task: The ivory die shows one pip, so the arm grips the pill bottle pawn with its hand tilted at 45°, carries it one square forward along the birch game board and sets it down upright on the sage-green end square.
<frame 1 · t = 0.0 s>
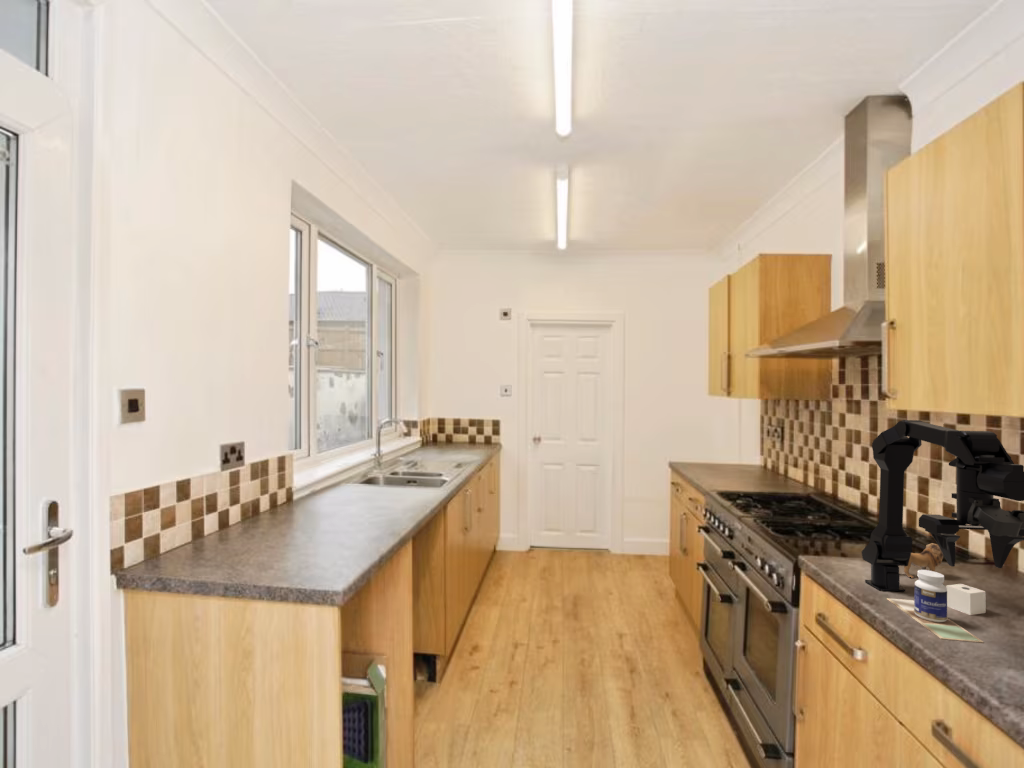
hand: (975, 566, 106), 15 cm above the countertop, tool pointing down, fingers open, 9 cm apart
lion figurine: (917, 576, 143), on the countertop
pill bottle: (930, 618, 115), resting on game board
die: (965, 609, 120), on the countertop
game board: (930, 618, 115), on the countertop
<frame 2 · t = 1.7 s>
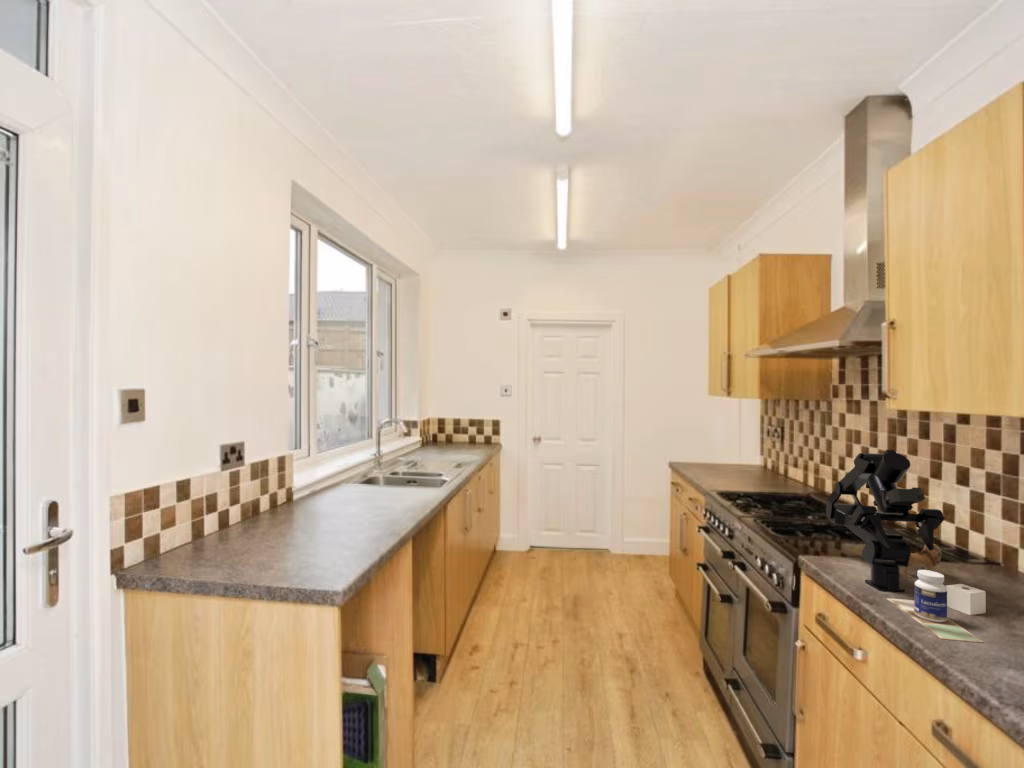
hand: (910, 548, 123), 13 cm above the countertop, tool tilted 45°, fingers open, 9 cm apart
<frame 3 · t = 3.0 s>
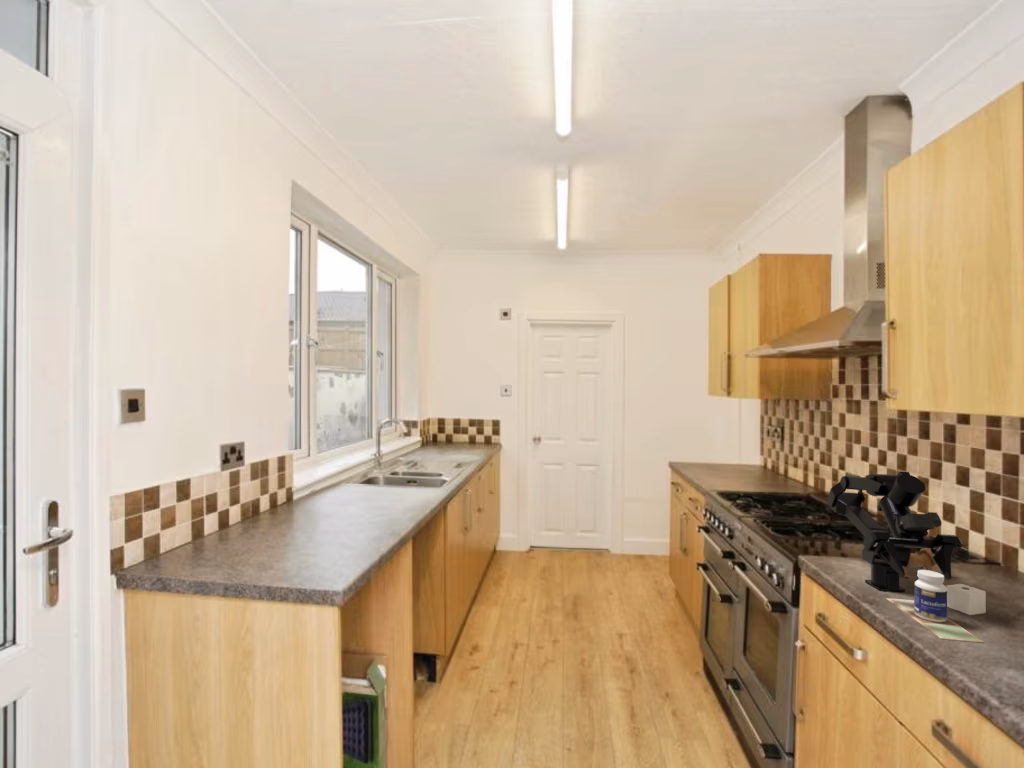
hand: (926, 577, 116), 9 cm above the countertop, tool tilted 45°, fingers open, 9 cm apart
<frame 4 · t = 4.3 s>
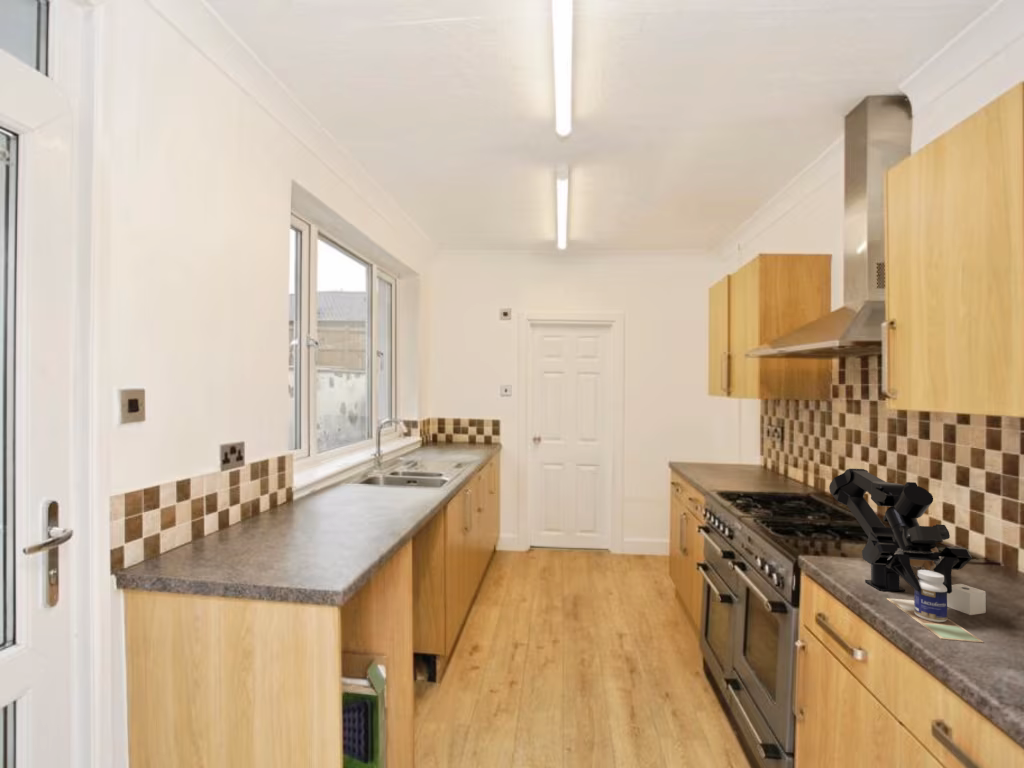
hand: (934, 591, 113), 7 cm above the countertop, tool tilted 45°, fingers closed on pill bottle, 6 cm apart
pill bottle: (930, 618, 115), resting on game board, touching gripper
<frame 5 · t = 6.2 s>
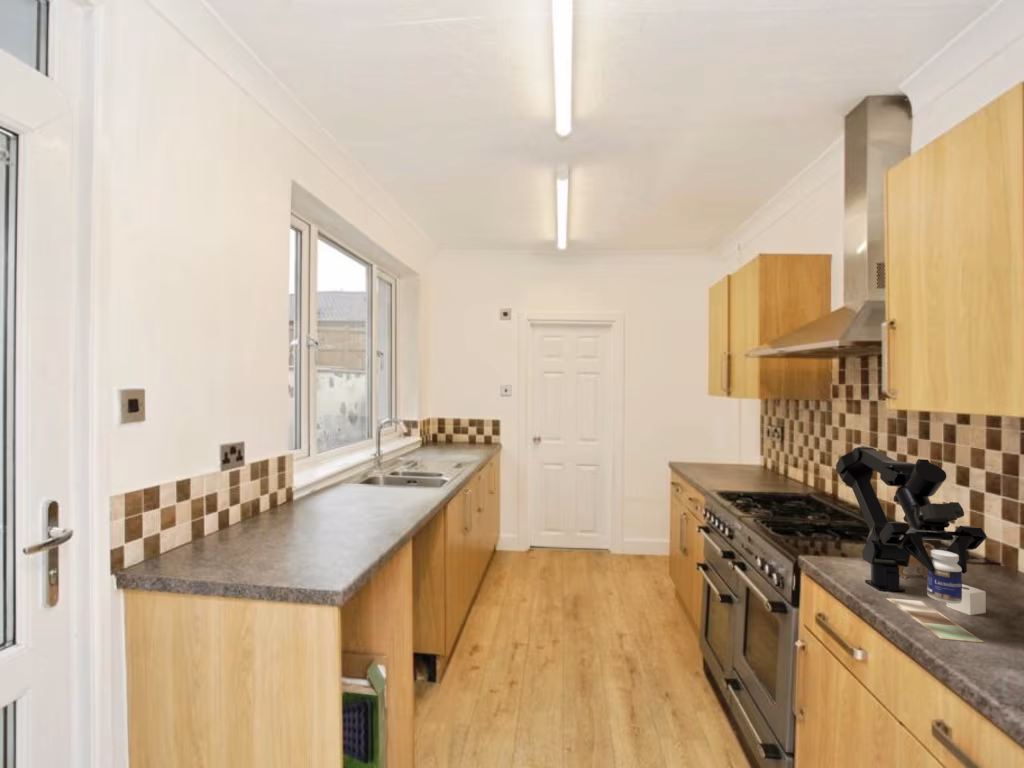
hand: (948, 571, 109), 13 cm above the countertop, tool tilted 45°, fingers closed on pill bottle, 6 cm apart
pill bottle: (944, 600, 110), point 6 cm above the countertop, touching gripper
when the fingers open (8 cm above the countertop, at t = 7.9 s): pill bottle drops 1 cm, resting on game board.
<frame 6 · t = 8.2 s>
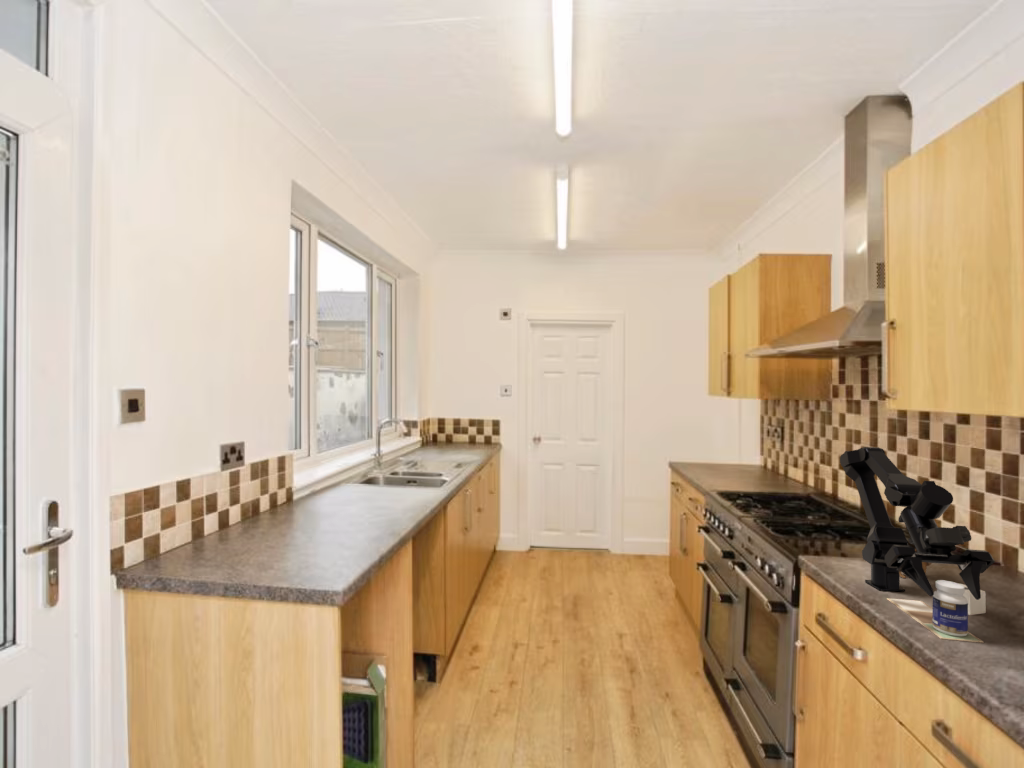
hand: (955, 597, 107), 8 cm above the countertop, tool tilted 45°, fingers open, 8 cm apart
pill bottle: (950, 632, 108), resting on game board
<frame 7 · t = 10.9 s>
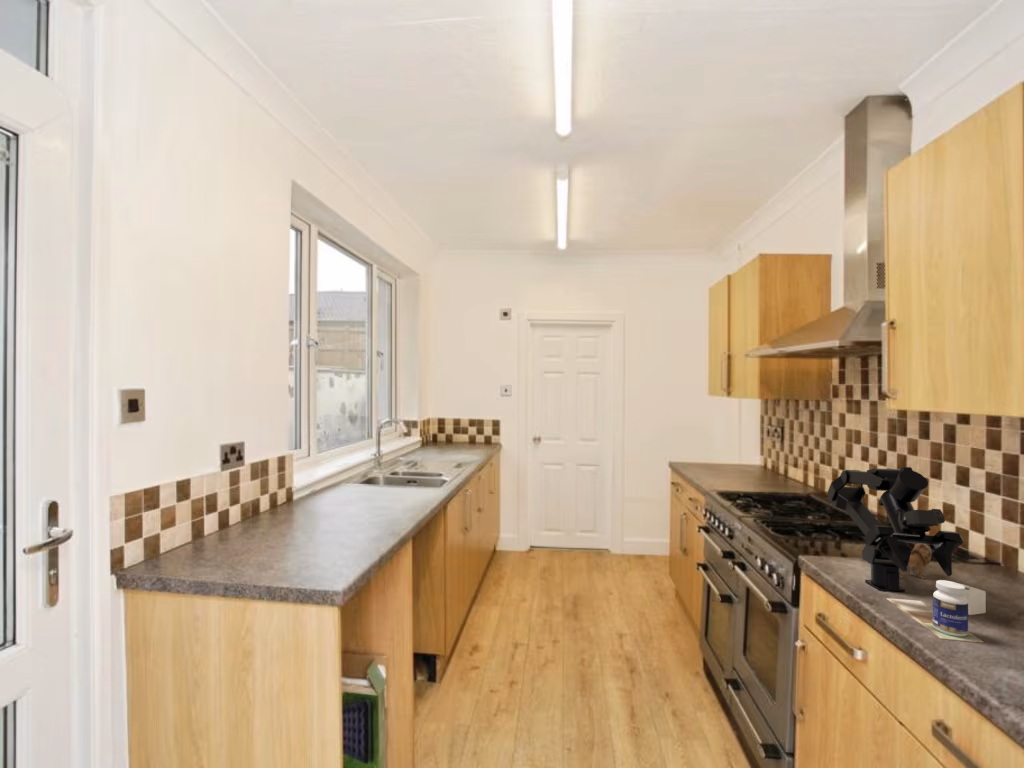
hand: (927, 573, 116), 10 cm above the countertop, tool tilted 45°, fingers open, 9 cm apart
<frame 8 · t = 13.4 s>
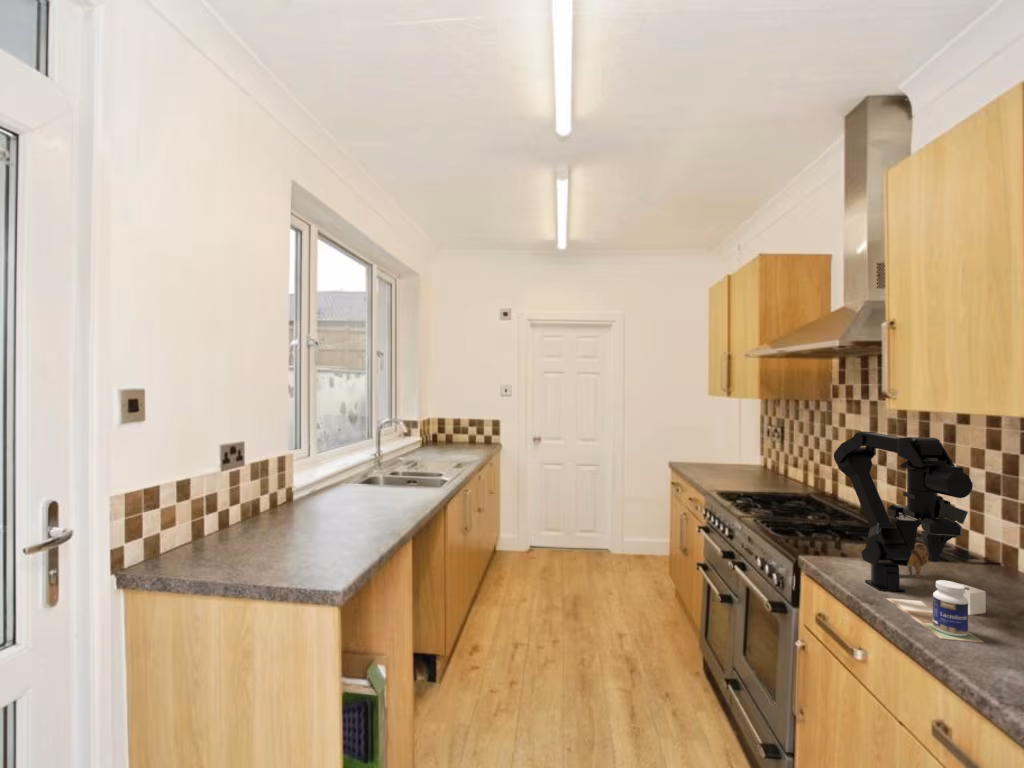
hand: (922, 555, 122), 12 cm above the countertop, tool pointing down, fingers open, 9 cm apart
at the end: pill bottle 0.3 cm from the target spot on the game board, point 0.0 cm above the game board's base; pill bottle tilted 0°; the gripper is holding nothing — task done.
